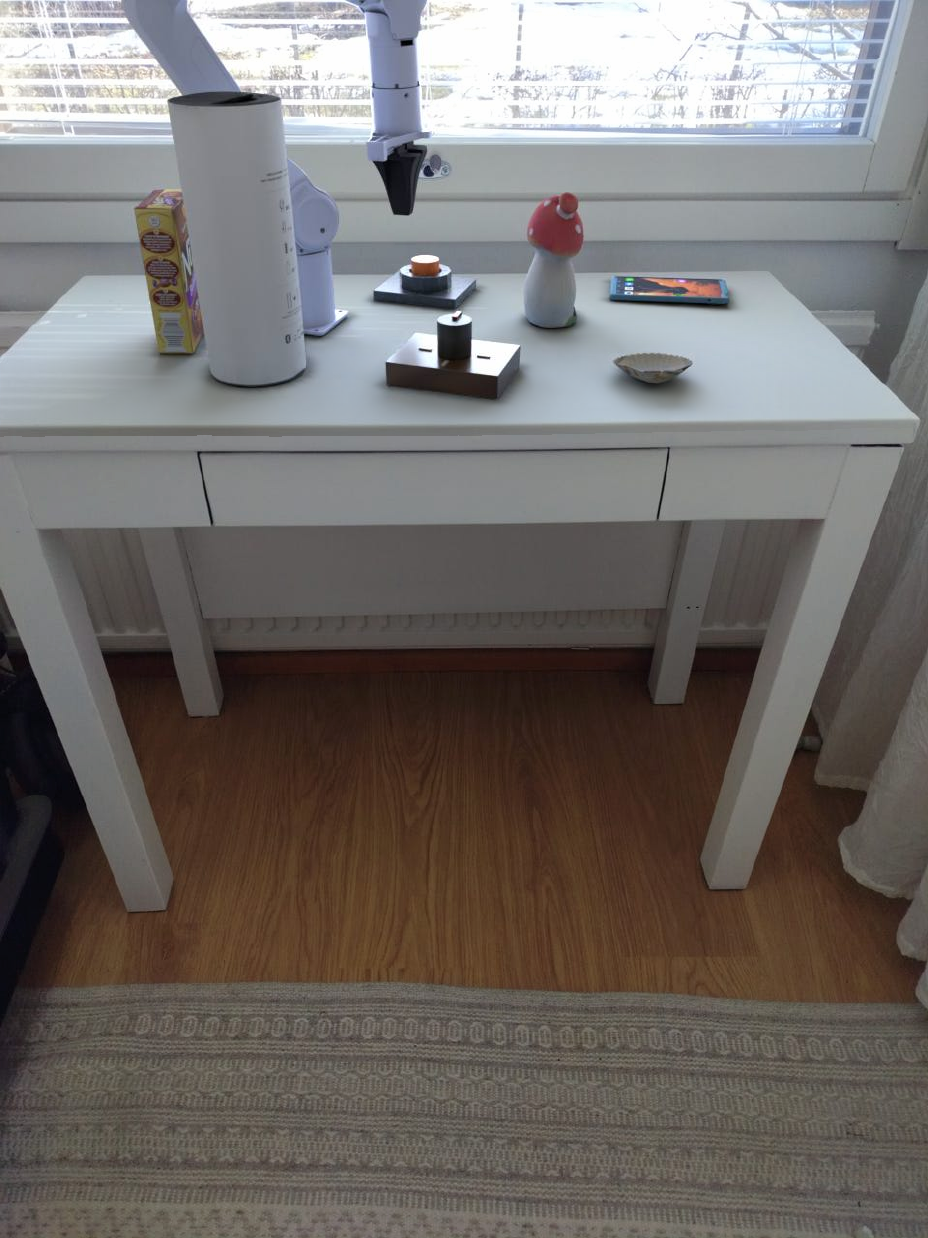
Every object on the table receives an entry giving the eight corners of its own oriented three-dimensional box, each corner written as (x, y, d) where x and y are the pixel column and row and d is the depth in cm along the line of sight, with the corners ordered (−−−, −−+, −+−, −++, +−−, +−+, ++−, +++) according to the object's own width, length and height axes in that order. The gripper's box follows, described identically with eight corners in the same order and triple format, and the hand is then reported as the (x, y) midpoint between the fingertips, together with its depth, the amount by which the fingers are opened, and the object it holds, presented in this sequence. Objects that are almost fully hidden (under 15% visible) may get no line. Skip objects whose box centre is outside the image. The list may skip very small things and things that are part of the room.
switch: (407, 275, 117) (407, 261, 116) (417, 267, 120) (416, 253, 119) (434, 278, 116) (434, 263, 115) (443, 270, 119) (443, 256, 118)
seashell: (676, 381, 101) (607, 361, 101) (687, 354, 100) (617, 334, 99) (688, 399, 94) (614, 378, 93) (699, 370, 93) (624, 348, 92)
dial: (465, 360, 94) (466, 324, 92) (432, 356, 95) (432, 320, 93) (475, 348, 97) (476, 312, 95) (443, 344, 98) (443, 309, 96)
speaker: (256, 344, 105) (221, 81, 89) (329, 362, 100) (306, 89, 85) (189, 375, 97) (138, 94, 82) (265, 396, 93) (227, 103, 77)
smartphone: (611, 275, 124) (725, 278, 122) (610, 285, 125) (724, 289, 123) (609, 291, 117) (730, 295, 115) (608, 302, 118) (728, 306, 116)
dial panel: (386, 384, 96) (385, 360, 94) (415, 354, 103) (415, 330, 101) (497, 399, 93) (497, 374, 91) (519, 367, 100) (520, 343, 98)
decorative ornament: (578, 334, 108) (589, 197, 99) (522, 332, 108) (529, 195, 99) (574, 307, 115) (584, 178, 106) (522, 306, 116) (528, 177, 107)
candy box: (197, 354, 102) (171, 207, 93) (158, 355, 102) (128, 208, 93) (212, 326, 109) (189, 187, 100) (175, 327, 109) (149, 187, 100)
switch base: (373, 299, 117) (372, 275, 116) (398, 279, 124) (397, 256, 123) (455, 308, 115) (455, 284, 113) (476, 287, 122) (476, 264, 120)
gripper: (406, 96, 96) (413, 232, 105) (449, 75, 107) (452, 200, 116) (344, 94, 98) (356, 228, 106) (393, 74, 109) (400, 197, 117)
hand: (402, 213), depth 111 cm, fingers closed
